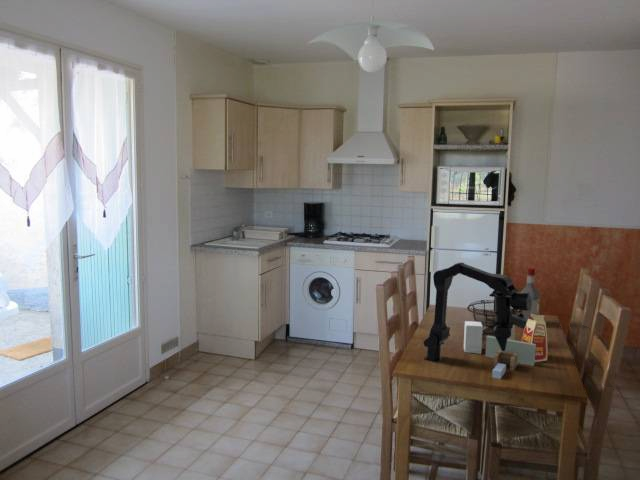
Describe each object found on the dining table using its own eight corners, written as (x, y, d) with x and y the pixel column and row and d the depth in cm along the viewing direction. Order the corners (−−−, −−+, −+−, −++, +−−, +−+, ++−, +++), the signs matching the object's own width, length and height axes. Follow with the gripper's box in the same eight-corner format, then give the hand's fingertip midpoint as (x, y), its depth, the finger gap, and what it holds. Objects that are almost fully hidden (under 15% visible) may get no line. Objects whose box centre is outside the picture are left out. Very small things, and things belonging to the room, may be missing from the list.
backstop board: (533, 366, 218) (535, 345, 217) (485, 356, 229) (486, 336, 227) (534, 364, 220) (535, 344, 218) (486, 355, 230) (487, 335, 229)
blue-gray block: (500, 379, 205) (500, 371, 204) (492, 377, 206) (492, 370, 206) (505, 372, 212) (506, 364, 212) (497, 370, 214) (498, 363, 213)
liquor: (516, 324, 275) (519, 268, 271) (521, 320, 282) (524, 266, 278) (534, 327, 270) (538, 271, 265) (538, 323, 277) (542, 268, 273)
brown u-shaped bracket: (513, 370, 213) (514, 359, 212) (493, 366, 217) (494, 355, 216) (517, 365, 219) (517, 354, 218) (497, 361, 223) (498, 350, 222)
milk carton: (531, 362, 222) (534, 317, 219) (517, 354, 231) (520, 311, 228) (549, 360, 225) (552, 315, 222) (535, 353, 233) (538, 309, 231)
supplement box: (481, 353, 232) (483, 326, 230) (464, 352, 233) (465, 325, 231) (480, 348, 239) (481, 321, 237) (463, 347, 240) (464, 320, 239)
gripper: (524, 314, 191) (525, 356, 192) (525, 303, 208) (526, 341, 209) (492, 313, 195) (494, 354, 196) (496, 303, 212) (497, 340, 213)
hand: (504, 347), depth 204 cm, fingers open, 9 cm apart
